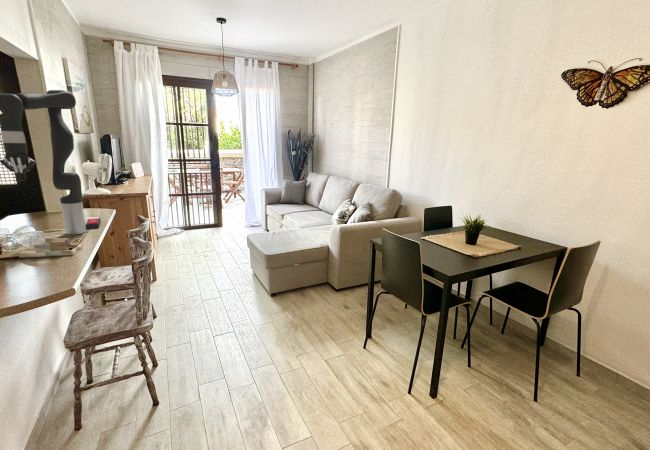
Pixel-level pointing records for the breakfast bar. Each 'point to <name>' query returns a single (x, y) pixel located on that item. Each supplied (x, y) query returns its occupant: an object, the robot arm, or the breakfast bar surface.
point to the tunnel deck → (48, 250)
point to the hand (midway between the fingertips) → (22, 180)
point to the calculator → (92, 222)
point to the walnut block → (60, 244)
